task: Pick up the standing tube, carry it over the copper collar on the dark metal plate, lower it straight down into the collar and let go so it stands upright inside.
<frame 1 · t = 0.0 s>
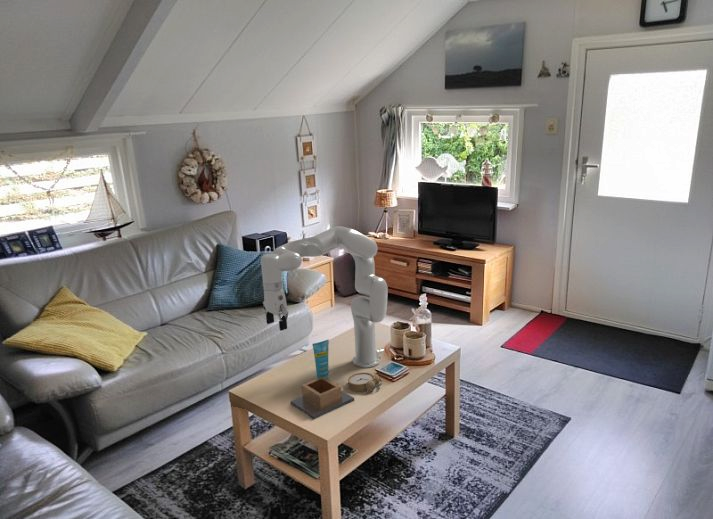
hand: (276, 326, 220), 31 cm above the table, tool pointing down, fingers open, 9 cm apart
alarm clock: (365, 386, 233), on the table
tube: (323, 382, 238), on the table
collar: (322, 402, 222), on the table
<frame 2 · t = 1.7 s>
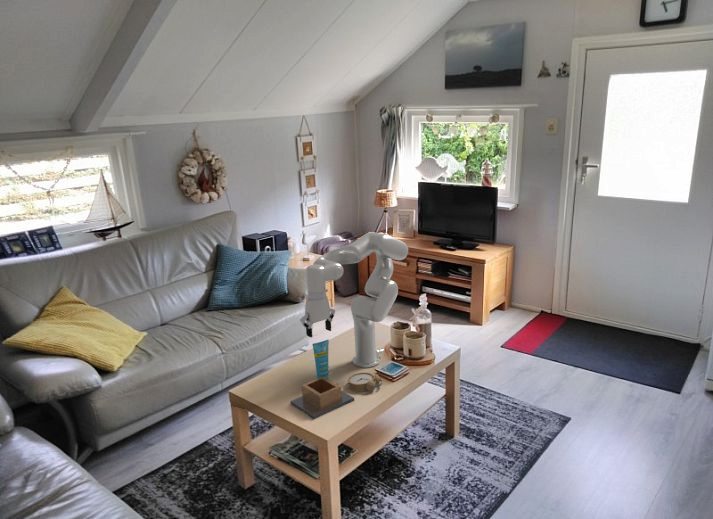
hand: (319, 333, 232), 23 cm above the table, tool pointing down, fingers open, 9 cm apart
nothing on the table moved.
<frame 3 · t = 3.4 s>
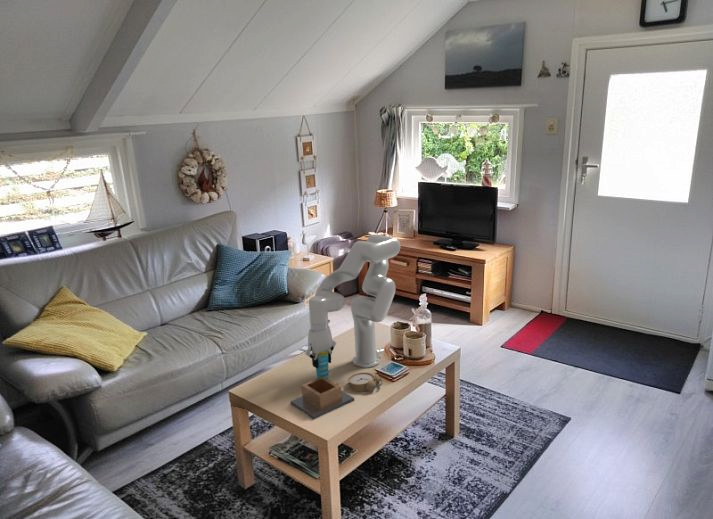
hand: (322, 364, 236), 9 cm above the table, tool pointing down, fingers closed on tube, 6 cm apart
tube: (323, 382, 238), on the table, touching gripper
everything else where it was.
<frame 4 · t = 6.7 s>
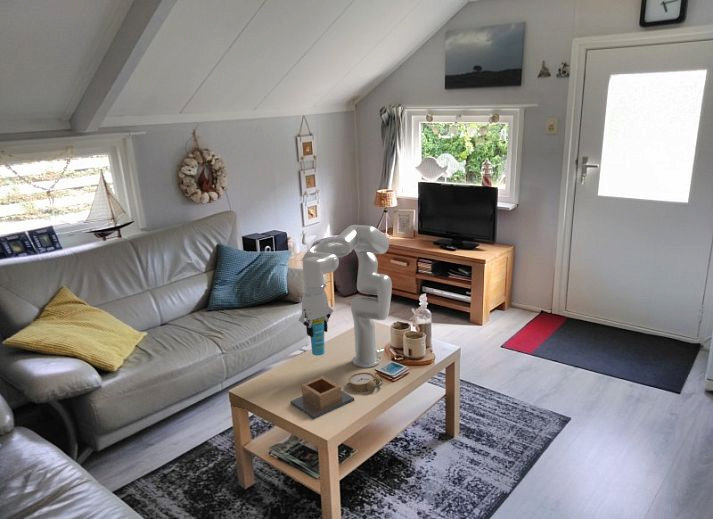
hand: (317, 333, 215), 30 cm above the table, tool pointing down, fingers closed on tube, 6 cm apart
tube: (318, 353, 217), point 21 cm above the table, touching gripper
everything else where it was.
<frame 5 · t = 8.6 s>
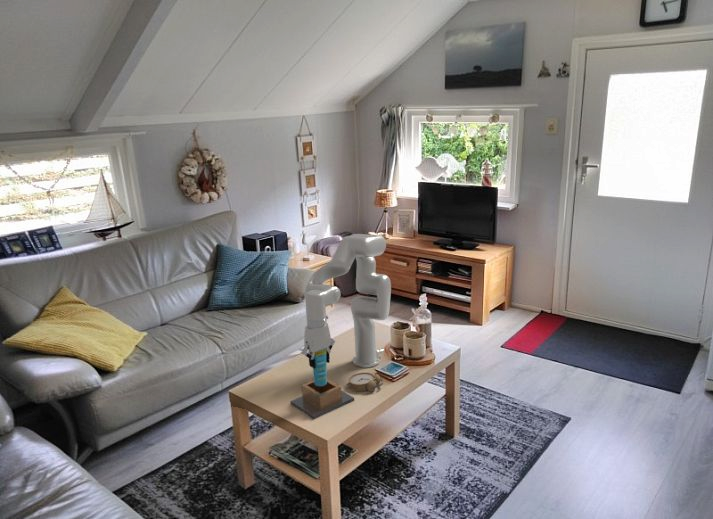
hand: (319, 364, 218), 17 cm above the table, tool pointing down, fingers closed on tube, 6 cm apart
tube: (321, 384, 220), point 8 cm above the table, touching gripper
everything else where it was.
when the fingers open (11 cm above the table, at t = 10.1 s): tube drops 2 cm, resting on collar.
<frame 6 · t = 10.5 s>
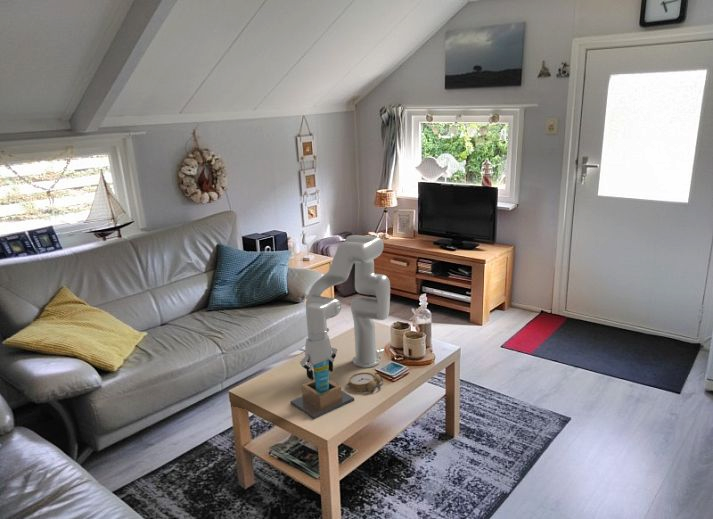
hand: (320, 374, 219), 12 cm above the table, tool pointing down, fingers open, 9 cm apart
tube: (323, 399, 222), point 1 cm above the table, touching collar
everything else where it was.
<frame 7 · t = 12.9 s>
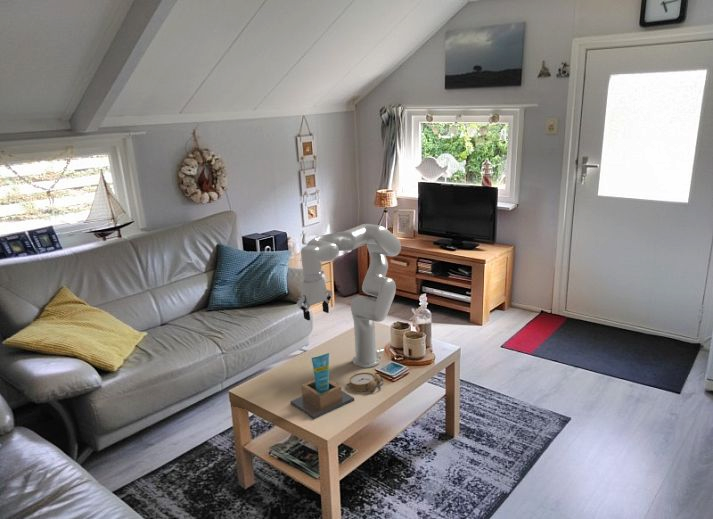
hand: (316, 315, 226), 32 cm above the table, tool pointing down, fingers open, 9 cm apart
nothing on the table moved.
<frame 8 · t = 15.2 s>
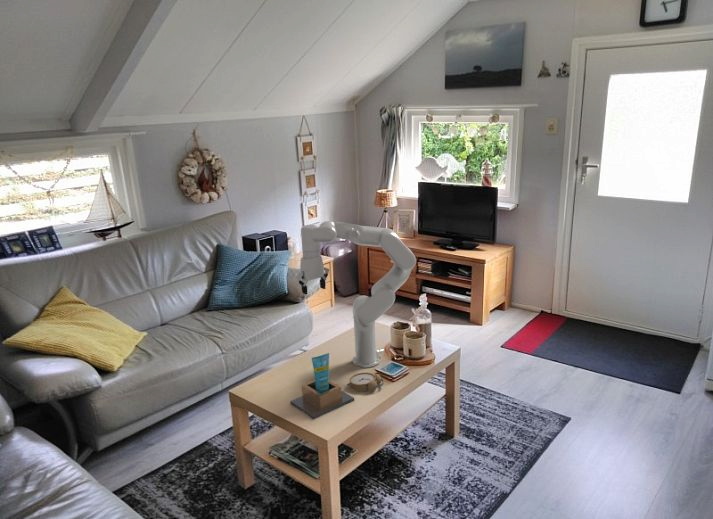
hand: (314, 291, 244), 36 cm above the table, tool pointing down, fingers open, 9 cm apart
nothing on the table moved.
at the end: tube 0.6 cm off-centre on the collar, point 1.0 cm above the collar's base; tube tilted 0°; the gripper is holding nothing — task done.
